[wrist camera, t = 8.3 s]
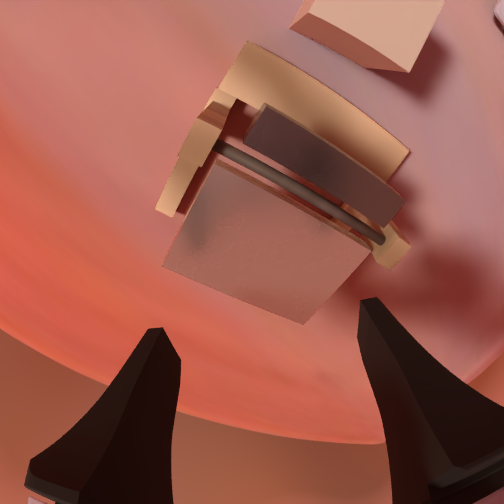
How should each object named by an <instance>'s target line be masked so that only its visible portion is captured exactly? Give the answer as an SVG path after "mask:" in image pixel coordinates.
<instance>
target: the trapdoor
mask: <svg viewBox="0 0 504 504" xmlns="http://www.w3.org/2000/svg"><path fill="white" fill-rule="evenodd" d="M243 144H245V145H247V146H249V147H251V148H252V149H254V150H256V151H258V152H260V153H262V154H263V155H265V156H267V157H269V158H271V159H272V160H274V161H276V162H278V163H279V164H281V165H283V166H285V167H286V168H288V169H290V170H292V171H293V172H295V173H297V174H299V175H300V176H302V177H304V178H305V179H307V180H309V181H310V182H312V183H314V184H315V185H317V186H319V187H320V188H322V189H323V190H325V191H327V192H328V193H330V194H332V195H333V196H335V197H336V198H338V199H339V200H341V201H343V202H344V203H346V204H347V205H349V206H350V207H352V208H354V209H355V210H357V211H358V212H360V213H361V214H363V215H364V216H366V217H367V218H369V219H370V220H372V221H373V222H375V223H376V224H378V225H379V226H381V227H382V228H383V229H384V228H385V227H386V226H387V224H388V223H389V222H390V221H391V220H392V218H393V217H394V216H395V215H396V213H397V212H398V211H399V210H400V208H401V207H402V206H403V204H404V203H405V202H406V200H405V199H404V198H403V197H402V196H401V195H400V194H399V193H398V192H397V191H396V190H395V189H394V188H393V187H392V186H390V185H389V184H388V183H386V182H385V181H384V180H382V179H381V178H380V177H379V176H377V175H376V174H375V173H373V172H372V171H370V170H369V169H368V168H366V167H365V166H364V165H362V164H361V163H359V162H358V161H357V160H355V159H354V158H352V157H351V156H350V155H348V154H347V153H345V152H344V151H342V150H341V149H339V148H338V147H337V146H335V145H334V144H332V143H331V142H329V141H328V140H326V139H324V138H323V137H321V136H320V135H318V134H317V133H315V132H314V131H312V130H310V129H309V128H307V127H306V126H304V125H302V124H301V123H299V122H298V121H296V120H294V119H293V118H291V117H289V116H288V115H286V114H284V113H283V112H281V111H279V110H277V109H276V108H274V107H272V106H270V105H269V104H267V103H265V102H264V103H263V104H262V106H261V108H260V109H259V111H258V112H257V114H256V116H255V117H254V119H253V120H252V122H251V124H250V125H249V127H248V129H247V130H246V132H245V134H244V136H243ZM370 252H371V250H370V248H369V246H368V245H367V243H366V242H365V241H364V240H362V239H361V238H359V237H357V236H356V235H354V234H352V233H351V232H349V231H347V230H346V229H344V228H342V227H341V226H339V225H337V224H336V223H334V222H332V221H331V220H329V219H327V218H325V217H324V216H322V215H320V214H319V213H317V212H315V211H313V210H312V209H310V208H308V207H306V206H305V205H303V204H301V203H299V202H298V201H296V200H294V199H292V198H291V197H289V196H287V195H285V194H283V193H282V192H280V191H278V190H276V189H274V188H272V187H271V186H269V185H267V184H265V183H263V182H261V181H259V180H258V179H256V178H254V177H252V176H250V175H248V174H246V173H244V172H242V171H241V170H239V169H237V168H235V167H233V166H231V165H229V164H227V163H225V162H223V161H221V160H219V159H217V158H216V160H215V162H214V164H213V166H212V167H211V169H210V171H209V173H208V175H207V176H206V178H205V180H204V182H203V184H202V186H201V188H200V189H199V191H198V193H197V195H196V197H195V199H194V201H193V203H192V205H191V206H190V208H189V210H188V212H187V214H186V216H185V218H184V220H183V222H182V224H181V226H180V228H179V230H178V232H177V234H176V236H175V238H174V240H173V242H172V244H171V246H170V248H169V250H168V252H167V254H166V256H165V259H164V262H163V265H162V267H164V268H167V269H169V270H171V271H173V272H176V273H178V274H180V275H183V276H185V277H187V278H189V279H192V280H194V281H196V282H199V283H201V284H203V285H206V286H208V287H210V288H213V289H215V290H218V291H220V292H222V293H225V294H227V295H229V296H232V297H234V298H237V299H239V300H242V301H244V302H247V303H249V304H251V305H254V306H256V307H259V308H261V309H264V310H266V311H269V312H271V313H274V314H277V315H279V316H282V317H284V318H287V319H289V320H292V321H295V322H297V323H300V324H302V325H304V324H305V323H306V322H307V321H308V320H309V319H310V318H311V317H312V316H313V314H314V313H315V312H316V311H317V310H318V309H319V308H320V307H321V306H322V305H323V304H324V303H325V302H326V301H327V300H328V299H329V298H330V297H331V296H332V294H333V293H334V292H335V291H336V290H337V289H338V288H339V287H340V286H341V285H342V284H343V282H344V281H345V280H346V279H347V278H348V277H349V276H350V275H351V274H352V273H353V271H354V270H355V269H356V268H357V267H358V266H359V265H360V264H361V262H362V261H363V260H364V259H365V258H366V257H367V255H368V254H369V253H370Z"/></svg>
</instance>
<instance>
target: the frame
mask: <svg viewBox="0 0 504 504" xmlns="http://www.w3.org/2000/svg"><path fill="white" fill-rule="evenodd" d="M236 99H239V100H241V101H243V102H245V103H247V104H249V105H251V106H253V107H254V108H256V109H258V110H259V109H260V108H261V106H262V104H263V103H264V102H265V103H267V104H269V105H270V106H272V107H274V108H276V109H277V110H279V111H281V112H283V113H284V114H286V115H288V116H289V117H291V118H293V119H294V120H296V121H298V122H299V123H301V124H302V125H304V126H306V127H307V128H309V129H310V130H312V131H314V132H315V133H317V134H318V135H320V136H321V137H323V138H324V139H326V140H328V141H329V142H331V143H332V144H334V145H335V146H337V147H338V148H339V149H341V150H342V151H344V152H345V153H347V154H348V155H350V156H351V157H352V158H354V159H355V160H357V161H358V162H359V163H361V164H362V165H364V166H365V167H366V168H368V169H369V170H370V171H372V172H373V173H375V174H376V175H377V176H379V177H380V178H381V179H382V180H384V181H385V182H387V181H388V179H389V178H390V177H391V175H392V174H393V173H394V171H395V170H396V169H397V167H398V166H399V165H400V163H401V162H402V161H403V159H404V158H405V156H406V155H407V154H408V152H409V150H408V149H407V148H406V147H405V146H403V145H402V144H401V143H400V142H399V141H398V140H396V139H395V138H394V137H393V136H392V135H390V134H389V133H388V132H387V131H386V130H384V129H383V128H382V127H381V126H379V125H378V124H377V123H376V122H374V121H373V120H372V119H370V118H369V117H368V116H367V115H365V114H364V113H363V112H361V111H360V110H359V109H357V108H356V107H355V106H353V105H352V104H350V103H349V102H348V101H346V100H345V99H343V98H342V97H341V96H339V95H338V94H336V93H335V92H333V91H332V90H330V89H329V88H328V87H326V86H325V85H323V84H321V83H320V82H318V81H317V80H315V79H314V78H312V77H311V76H309V75H307V74H306V73H304V72H303V71H301V70H299V69H298V68H296V67H294V66H293V65H291V64H289V63H288V62H286V61H284V60H283V59H281V58H279V57H277V56H275V55H274V54H272V53H270V52H268V51H266V50H265V49H263V48H261V47H259V46H257V45H255V44H253V43H251V42H249V41H247V42H246V44H245V45H244V47H243V48H242V50H241V51H240V53H239V55H238V56H237V58H236V59H235V61H234V63H233V64H232V66H231V68H230V69H229V71H228V72H227V74H226V76H225V77H224V79H223V81H222V83H221V84H220V86H219V87H217V88H216V89H215V91H214V93H213V94H212V96H211V98H210V100H209V101H208V103H207V105H206V107H205V109H204V110H203V112H202V113H201V114H200V115H199V116H198V117H197V118H196V120H195V122H194V124H193V126H192V128H191V130H190V132H189V134H188V136H187V138H186V139H185V141H184V143H183V145H182V147H181V149H180V151H179V153H178V155H177V156H179V158H178V160H177V162H176V165H175V167H174V169H173V171H172V173H171V175H170V177H169V179H168V181H167V183H166V186H165V188H164V190H163V192H162V194H161V197H160V199H159V201H158V203H157V206H156V208H155V210H158V211H160V212H162V213H164V214H166V215H168V216H170V217H173V216H174V213H175V211H176V209H177V207H178V205H179V203H180V201H181V199H182V197H183V195H184V193H185V191H186V189H187V187H188V185H189V183H190V181H191V180H192V178H193V176H194V174H195V172H196V170H197V168H198V166H200V167H202V166H203V164H204V162H205V160H206V158H207V156H208V154H209V153H210V151H211V150H213V151H215V152H217V153H219V154H221V155H223V156H225V157H227V158H229V159H231V160H233V161H234V162H236V163H238V164H240V165H242V166H244V167H246V168H248V169H250V170H252V171H253V172H255V173H257V174H259V175H261V176H263V177H265V178H266V179H268V180H270V181H272V182H274V183H276V184H277V185H279V186H281V187H283V188H285V189H286V190H288V191H290V192H292V193H294V194H295V195H297V196H299V197H301V198H302V199H304V200H306V201H307V202H309V203H311V204H313V205H314V206H316V207H318V208H320V209H321V210H323V211H325V212H326V213H328V214H330V215H331V216H333V217H332V218H331V219H330V220H331V221H332V222H334V223H336V224H337V225H339V226H341V227H342V228H344V229H346V230H347V231H349V232H350V230H351V229H352V228H353V229H354V230H356V231H358V232H359V233H361V235H362V237H363V238H364V240H365V242H366V243H367V245H368V246H369V248H370V250H371V253H372V254H373V256H374V258H375V260H376V262H377V263H378V264H380V265H382V266H383V267H385V268H387V269H388V270H390V271H391V270H392V268H393V267H394V266H395V265H396V264H397V263H398V262H399V261H400V260H401V258H402V257H403V256H404V255H405V254H406V253H407V252H408V250H409V249H410V248H411V247H412V246H411V245H410V243H409V242H408V241H407V239H406V238H405V237H404V235H403V234H402V232H401V231H400V230H399V229H398V227H397V226H396V225H395V223H394V222H393V221H392V220H391V221H390V222H389V223H388V224H387V226H386V227H385V228H384V229H383V228H382V227H381V226H379V225H378V224H376V223H375V222H373V221H372V220H370V219H369V218H367V217H366V216H364V215H363V214H361V213H360V212H358V211H357V210H355V209H354V208H352V207H350V206H349V205H347V204H346V203H344V202H343V204H342V205H341V206H340V207H339V206H337V205H335V204H334V203H332V202H331V201H329V200H327V199H326V198H324V197H322V196H321V195H319V194H317V193H316V192H314V191H312V190H311V189H309V188H307V187H306V186H304V185H302V184H300V183H299V182H297V181H295V180H294V179H292V178H290V177H288V176H287V175H285V174H283V173H281V172H280V171H278V170H276V169H274V168H272V167H271V166H269V165H267V164H265V163H263V162H262V161H260V160H258V159H256V158H254V157H252V156H250V155H249V154H247V153H245V152H243V151H241V150H239V149H237V148H235V147H233V146H232V145H230V144H228V143H226V142H224V141H222V140H220V139H218V136H219V135H220V133H221V131H222V129H223V126H224V124H225V121H226V119H227V116H228V114H229V111H230V109H231V107H232V105H233V104H234V102H235V100H236Z"/></svg>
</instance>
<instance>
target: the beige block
mask: <svg viewBox="0 0 504 504" xmlns="http://www.w3.org/2000/svg"><path fill="white" fill-rule="evenodd" d="M444 1H445V0H304V2H303V3H302V5H301V7H300V9H299V11H298V13H297V14H296V16H295V18H294V20H293V22H292V24H291V26H290V28H289V29H291V30H293V31H296V32H298V33H300V34H302V35H304V36H306V37H308V38H310V39H312V40H314V41H316V42H318V43H320V44H322V45H324V46H326V47H328V48H330V49H332V50H334V51H336V52H337V53H339V54H341V55H343V56H345V57H346V58H348V59H350V60H352V61H353V62H355V63H357V64H358V65H360V66H362V67H363V68H374V69H384V70H392V71H400V72H407V73H409V72H410V71H411V69H412V67H413V65H414V63H415V61H416V59H417V57H418V55H419V53H420V51H421V49H422V47H423V45H424V43H425V41H426V39H427V37H428V35H429V33H430V31H431V29H432V27H433V25H434V23H435V20H436V18H437V16H438V14H439V12H440V10H441V8H442V6H443V3H444Z"/></svg>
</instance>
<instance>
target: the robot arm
mask: <svg viewBox="0 0 504 504" xmlns="http://www.w3.org/2000/svg"><path fill="white" fill-rule="evenodd" d="M494 14H495V16H496V18H497V19H498V20H499V21H500V23H501V24H502V25H503V27H504V0H498V2H497V4H496V6H495V8H494ZM357 339H358V343H359V347H360V352H361V356H362V360H363V364H364V366H365V369H366V372H367V375H368V378H369V381H370V384H371V387H372V390H373V393H374V396H375V399H376V402H377V405H378V408H379V411H380V414H381V418H382V423H383V428H384V433H385V438H386V444H387V450H388V457H389V465H390V474H391V484H392V501H393V504H504V407H502V406H500V405H499V404H497V403H495V402H493V401H492V400H490V399H488V398H486V397H484V396H483V395H482V394H480V393H479V392H477V391H476V390H474V389H473V388H471V387H470V386H469V385H467V384H466V383H464V382H463V381H461V380H460V379H459V378H458V377H456V376H455V375H454V374H452V373H451V372H450V371H449V370H448V369H446V368H445V367H444V366H443V365H442V364H440V363H439V362H438V361H437V360H436V359H435V358H434V357H433V356H432V355H431V354H430V353H428V352H427V351H426V350H425V349H424V348H423V347H422V346H421V345H420V344H419V343H418V342H417V341H416V340H415V339H414V338H413V337H412V335H411V334H410V333H409V332H408V331H407V330H406V329H405V328H404V327H403V326H402V325H401V324H400V323H399V321H398V320H397V319H396V318H395V317H394V316H393V315H392V314H391V312H390V311H389V310H388V309H387V308H386V307H385V305H384V304H383V303H382V302H381V301H380V300H379V299H378V298H377V297H374V298H369V299H364V300H360V312H359V324H358V334H357ZM180 376H181V359H180V357H179V356H178V354H177V352H176V350H175V349H174V347H173V345H172V343H171V342H170V340H169V338H168V336H167V334H166V332H165V331H164V329H163V327H162V328H151V329H148V330H147V331H146V333H145V334H144V336H143V337H142V339H141V340H140V342H139V343H138V345H137V346H136V348H135V349H134V351H133V352H132V354H131V355H130V357H129V358H128V360H127V361H126V363H125V364H124V366H123V367H122V369H121V370H120V371H119V373H118V374H117V376H116V377H115V378H114V380H113V381H112V383H111V384H110V385H109V387H108V388H107V389H106V391H105V392H104V393H103V395H102V396H101V397H100V399H99V400H98V401H97V402H96V403H95V404H94V406H93V407H92V408H91V409H90V410H89V411H88V412H87V413H86V414H85V415H84V416H83V417H82V419H80V420H79V421H78V422H77V423H76V424H75V425H74V426H73V427H72V428H71V429H70V430H69V431H68V432H67V433H66V434H65V435H63V436H62V437H61V438H60V439H59V440H57V441H56V442H55V443H54V444H52V445H51V446H50V447H48V448H47V449H45V450H44V451H43V452H41V453H40V454H38V455H37V456H35V457H34V458H32V459H31V460H30V463H29V467H28V471H27V475H26V479H25V483H24V486H25V487H26V488H28V489H30V490H31V491H33V492H35V493H37V494H39V495H42V496H44V497H46V498H48V499H50V500H53V501H55V502H56V503H55V504H173V495H172V479H171V443H172V432H173V426H174V419H175V413H176V407H177V401H178V394H179V388H180ZM28 504H47V503H45V502H42V501H40V500H38V499H36V498H33V497H29V501H28Z"/></svg>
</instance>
